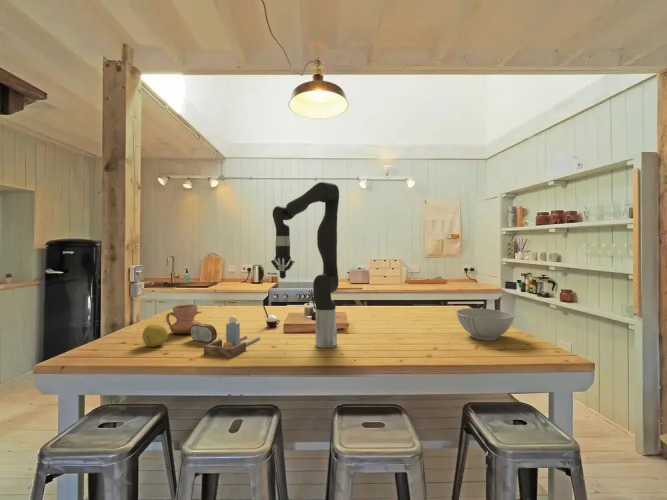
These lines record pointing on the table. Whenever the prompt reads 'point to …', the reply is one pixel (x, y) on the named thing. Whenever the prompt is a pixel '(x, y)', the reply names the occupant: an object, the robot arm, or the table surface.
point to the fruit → (154, 335)
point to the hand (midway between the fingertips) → (282, 278)
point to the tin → (203, 332)
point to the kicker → (233, 331)
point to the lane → (250, 341)
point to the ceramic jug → (183, 318)
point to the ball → (228, 344)
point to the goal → (223, 349)
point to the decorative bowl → (484, 322)
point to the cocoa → (271, 320)
